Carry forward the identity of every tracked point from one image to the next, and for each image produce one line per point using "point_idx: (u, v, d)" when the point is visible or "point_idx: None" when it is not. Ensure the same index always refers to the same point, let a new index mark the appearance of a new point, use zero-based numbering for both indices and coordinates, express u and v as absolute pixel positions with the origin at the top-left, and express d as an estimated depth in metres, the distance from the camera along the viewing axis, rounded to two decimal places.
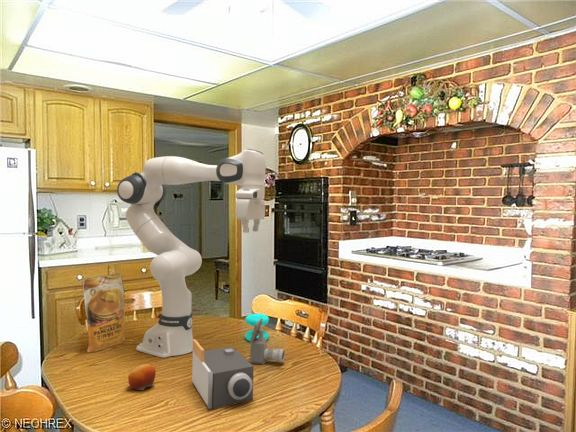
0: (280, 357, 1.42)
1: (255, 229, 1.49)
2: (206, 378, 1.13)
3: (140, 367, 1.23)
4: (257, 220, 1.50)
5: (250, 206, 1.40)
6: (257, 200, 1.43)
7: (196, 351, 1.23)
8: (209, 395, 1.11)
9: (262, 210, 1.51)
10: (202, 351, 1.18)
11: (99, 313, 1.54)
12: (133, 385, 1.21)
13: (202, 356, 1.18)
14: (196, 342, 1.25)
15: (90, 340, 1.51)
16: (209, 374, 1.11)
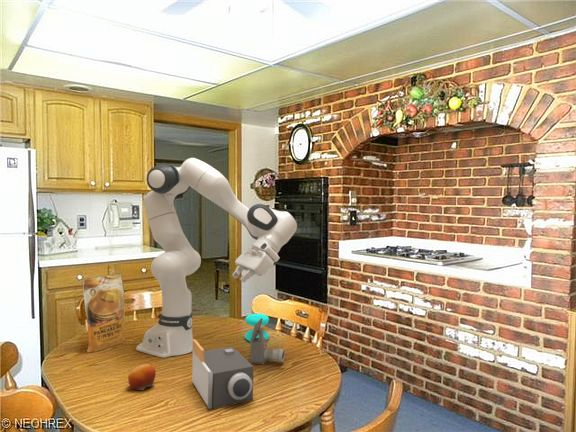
0: (280, 357, 1.42)
1: (236, 276, 1.42)
2: (206, 378, 1.13)
3: (140, 367, 1.23)
4: (242, 269, 1.44)
5: None
6: None
7: (196, 351, 1.23)
8: (209, 395, 1.11)
9: None
10: (202, 351, 1.18)
11: (99, 313, 1.54)
12: (133, 385, 1.21)
13: (202, 356, 1.18)
14: (196, 342, 1.25)
15: (90, 340, 1.51)
16: (209, 374, 1.11)
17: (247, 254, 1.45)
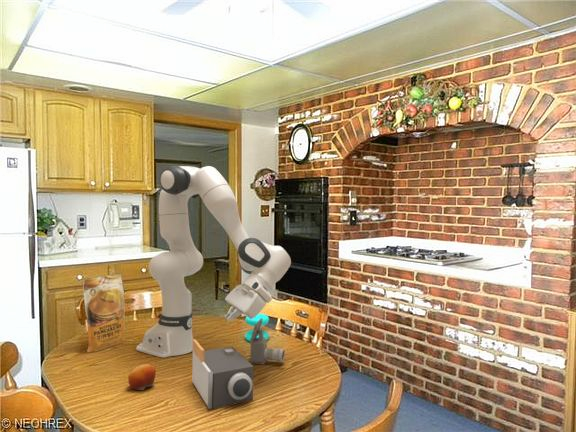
0: (280, 357, 1.42)
1: None
2: (206, 378, 1.13)
3: (140, 367, 1.23)
4: None
5: None
6: None
7: (196, 351, 1.23)
8: (209, 395, 1.11)
9: None
10: (202, 351, 1.18)
11: (99, 313, 1.54)
12: (133, 385, 1.21)
13: (202, 356, 1.18)
14: (196, 342, 1.25)
15: (90, 340, 1.51)
16: (209, 374, 1.11)
17: (238, 291, 1.37)
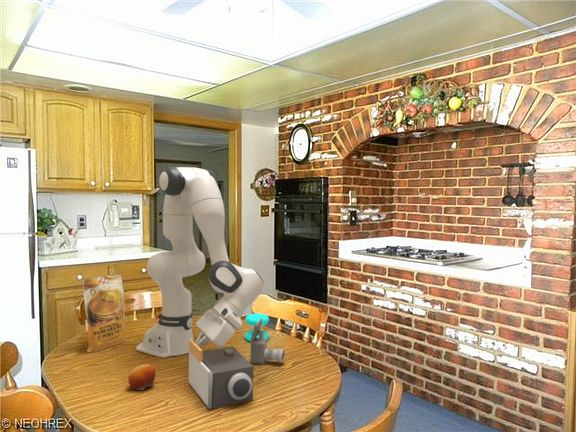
0: (280, 357, 1.42)
1: None
2: (205, 378, 1.13)
3: (140, 367, 1.23)
4: None
5: None
6: None
7: (193, 351, 1.23)
8: (209, 395, 1.11)
9: None
10: (200, 351, 1.18)
11: (99, 313, 1.54)
12: (133, 385, 1.21)
13: (200, 356, 1.18)
14: (193, 342, 1.24)
15: (90, 340, 1.51)
16: (209, 374, 1.11)
17: (209, 316, 1.32)
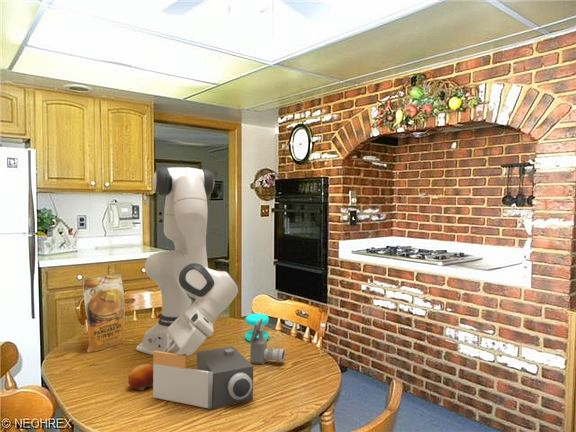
0: (280, 357, 1.42)
1: None
2: (201, 381, 1.12)
3: (140, 367, 1.23)
4: None
5: None
6: None
7: (167, 361, 1.15)
8: (211, 395, 1.11)
9: None
10: (185, 357, 1.13)
11: (99, 313, 1.54)
12: (133, 385, 1.21)
13: (185, 362, 1.14)
14: (163, 352, 1.16)
15: (90, 340, 1.51)
16: (210, 374, 1.11)
17: (180, 322, 1.25)
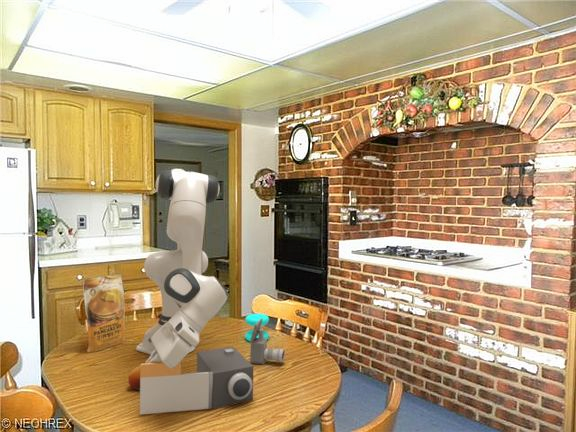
0: (280, 357, 1.42)
1: None
2: (201, 383, 1.10)
3: None
4: None
5: None
6: None
7: (158, 371, 1.08)
8: (211, 395, 1.11)
9: None
10: (180, 363, 1.09)
11: (99, 313, 1.54)
12: (133, 385, 1.21)
13: (180, 368, 1.09)
14: (153, 363, 1.08)
15: (90, 340, 1.51)
16: (211, 374, 1.11)
17: (164, 331, 1.16)
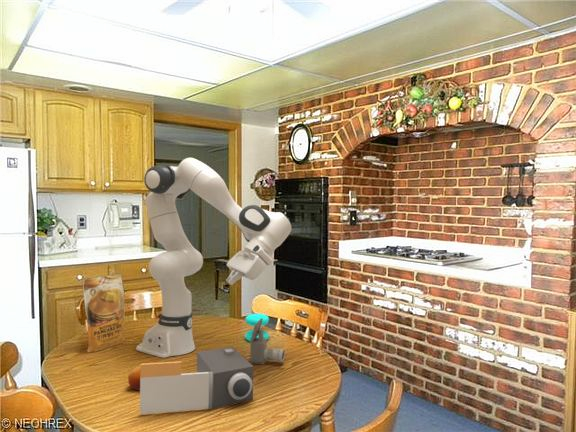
0: (280, 357, 1.42)
1: None
2: (201, 383, 1.10)
3: None
4: None
5: None
6: None
7: (158, 371, 1.08)
8: (211, 395, 1.11)
9: None
10: (180, 363, 1.09)
11: (99, 313, 1.54)
12: (133, 385, 1.21)
13: (180, 368, 1.09)
14: (152, 363, 1.08)
15: (90, 340, 1.51)
16: (211, 374, 1.11)
17: (239, 257, 1.39)
